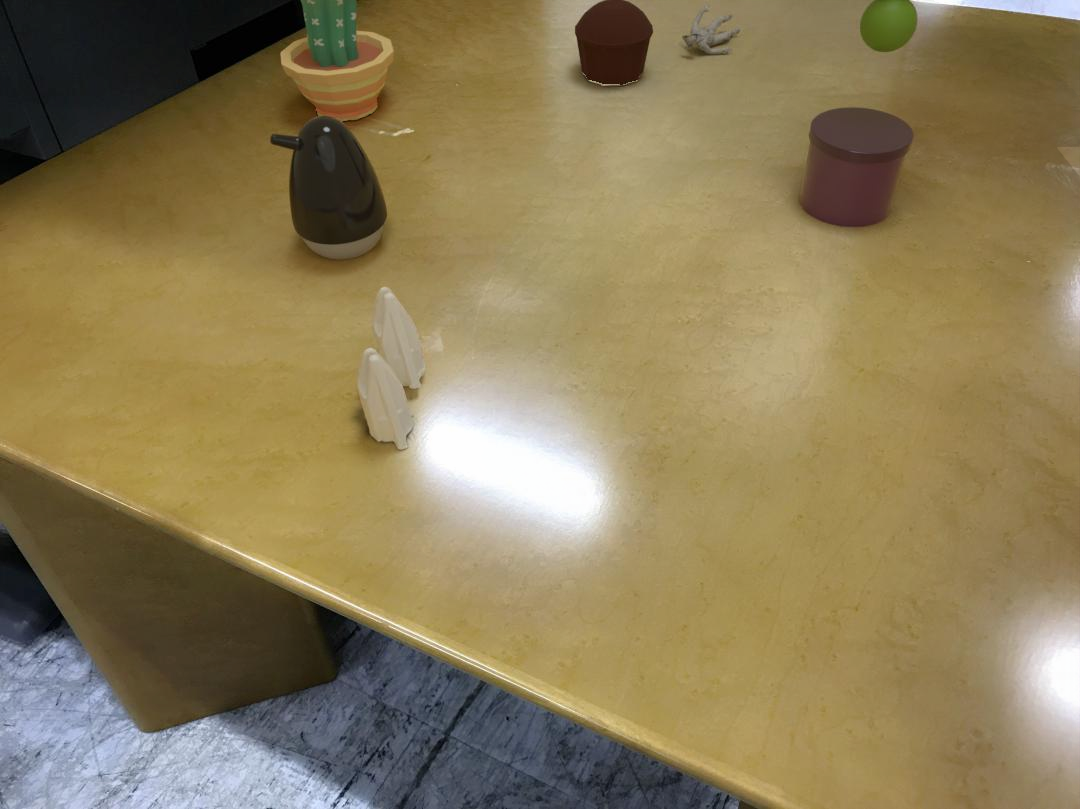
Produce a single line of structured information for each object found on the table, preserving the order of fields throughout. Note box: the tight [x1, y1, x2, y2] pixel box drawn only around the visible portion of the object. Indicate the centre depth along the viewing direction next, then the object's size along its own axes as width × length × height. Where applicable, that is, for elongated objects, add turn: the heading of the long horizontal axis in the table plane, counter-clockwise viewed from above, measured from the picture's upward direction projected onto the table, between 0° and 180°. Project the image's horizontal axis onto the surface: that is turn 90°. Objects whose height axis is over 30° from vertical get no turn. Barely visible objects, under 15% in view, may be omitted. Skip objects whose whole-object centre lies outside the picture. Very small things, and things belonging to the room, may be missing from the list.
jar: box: [798, 106, 915, 228], centre depth 99 cm, size 11×11×11 cm
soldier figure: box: [681, 4, 741, 55], centre depth 138 cm, size 8×5×12 cm
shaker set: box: [356, 286, 426, 451], centre depth 78 cm, size 12×4×11 cm, turn 175°
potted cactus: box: [279, 0, 395, 119], centre depth 118 cm, size 15×15×25 cm
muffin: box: [574, 0, 654, 85], centre depth 129 cm, size 12×11×10 cm
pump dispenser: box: [269, 116, 388, 261], centre depth 96 cm, size 10×10×15 cm
